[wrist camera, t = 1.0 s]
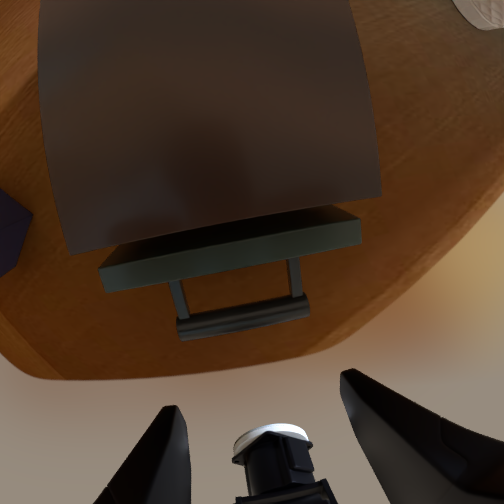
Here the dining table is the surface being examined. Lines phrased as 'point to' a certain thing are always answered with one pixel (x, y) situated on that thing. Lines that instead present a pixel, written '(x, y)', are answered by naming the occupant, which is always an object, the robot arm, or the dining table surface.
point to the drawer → (232, 264)
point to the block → (11, 231)
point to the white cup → (482, 13)
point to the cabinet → (200, 113)
